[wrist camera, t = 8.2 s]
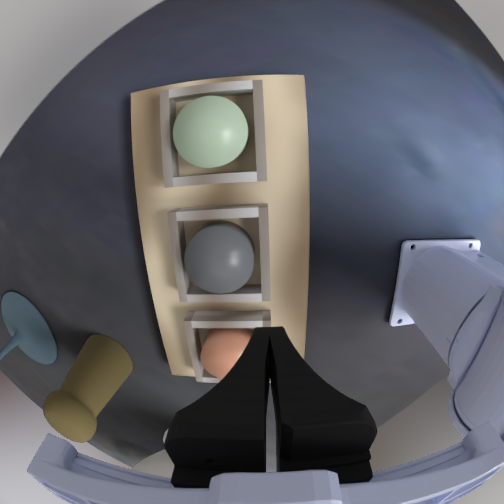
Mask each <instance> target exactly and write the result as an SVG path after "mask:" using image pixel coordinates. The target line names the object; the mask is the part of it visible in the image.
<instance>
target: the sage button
mask: <svg viewBox="0 0 504 504" xmlns="http://www.w3.org/2000/svg"><path fill="white" fill-rule="evenodd" d="M248 138H249V128H248V124H247V121H246V119H245V116H244V114H243V112H242V111H241V109H240V108H239V107H238V106H237V105H236V104H235V103H233V102H232V101H230V100H228V99H226V98H224V97H220V96H204V97H200V98H197V99H195V100H193V101H192V102H190V103H189V104H187V105H186V106H185V107H184V108H183V109H182V110H181V111H180V113H179V114H178V116H177V118H176V120H175V123H174V127H173V140H174V144H175V147H176V149H177V151H178V152H179V154H180V155H181V156H182V157H183V158H184V159H185V160H186V161H187V162H189V163H191V164H192V165H195V166H198V167H202V168H214V167H220V166H224V165H227V164H229V163H231V162H233V161H234V160H236V159H237V158H238V157H239V156H240V155H241V154H242V153H243V151H244V150H245V148H246V145H247V143H248Z"/></svg>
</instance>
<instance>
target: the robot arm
mask: <svg viewBox="0 0 504 504" xmlns="http://www.w3.org/2000/svg"><path fill="white" fill-rule="evenodd" d="M413 244H414V246H413V248H412V249H411V246H412V245H413ZM469 244H470V246H469ZM479 249H480V241H479V240H477V239H449V240H407V241H404V242H403V243H402V246H401V254H400V262H399V269H398V275H397V282H396V288H395V293H394V299H393V304H392V309H391V314H390V319H389V323H390V325H391V326H400V325H407V324H413V323H416V325H417V326H418V327H419V329H420V330H421V331H422V332H423V334H424V335H425V336H426V338H427V339H428V340H429V341H430V343H431V344H432V345H433V347H434V348H435V349H436V351H437V352H438V353H439V355H440V356H441V357H442V359H443V360H444V362H445V363H446V364H447V366H448V367H449V368H450V373H449V376H448V378H447V381H448V382H449V384H450V385H451V387H452V388H453V392H452V393H451V395H450V398H449V402H448V412H449V416H450V419H451V421H452V423H453V425H454V427H455V428H456V429H457V430H458V432H459V433H460V434H461V435H462V436H463V437H464V439H463V441H462V442H460V443H458V444H456V445H453V446H451V447H449V448H447V449H444V450H442V451H439V452H437V453H434V454H431V455H429V456H426V457H423V458H421V459H418V460H415V461H411V462H408V463H405V464H402V465H398V466H395V467H391V468H388V469H384V470H380V471H376V472H372V470H371V466H370V462H369V460H370V459H371V455H370V451H369V449H370V447H371V445H372V443H373V441H374V439H375V437H376V434H377V428H376V424H375V421H374V419H373V417H372V415H371V414H370V412H369V410H368V408H367V407H366V406H365V405H363V404H361V403H359V402H357V401H355V400H353V399H351V398H349V397H347V396H345V395H344V394H342V393H340V392H339V391H337V390H336V389H335V388H333V387H332V386H331V385H329V384H328V383H327V382H325V381H324V380H323V379H322V378H321V377H320V376H319V375H318V374H317V373H315V372H314V371H313V369H312V368H311V367H310V366H309V365H308V364H307V363H306V362H305V360H304V359H303V358H302V357H301V355H300V354H299V353H298V351H297V350H296V348H295V347H294V345H293V344H292V342H291V340H290V339H289V337H288V335H287V333H286V331H285V328H284V327H283V326H278V327H255V328H254V329H253V333H252V335H251V338H250V340H249V342H248V344H247V346H246V347H245V349H244V351H243V353H242V354H241V356H240V357H239V359H238V360H237V362H236V363H235V364H234V366H233V367H232V368H231V370H230V371H229V372H228V373H227V374H226V375H225V377H224V378H223V379H222V380H221V381H220V382H219V383H218V384H217V385H216V386H215V387H213V388H212V389H211V390H210V391H209V392H207V393H206V394H205V395H203V396H202V397H201V398H200V399H198V400H197V401H195V402H194V403H192V404H190V405H189V406H187V407H185V408H183V409H182V410H180V411H178V412H177V413H176V415H175V416H174V418H173V420H172V422H171V424H170V426H169V429H168V432H167V436H166V439H165V443H164V447H165V450H166V452H167V454H168V455H169V457H170V459H171V460H172V462H173V464H174V469H173V473H172V477H171V478H167V477H162V476H157V475H152V474H147V473H143V472H139V471H135V470H131V469H127V468H123V467H120V466H116V465H113V464H109V463H107V462H103V461H100V460H97V459H94V458H92V457H89V456H86V455H83V454H81V453H78V452H77V450H76V449H75V448H74V446H73V445H71V444H70V443H69V442H67V441H66V440H63V439H61V438H59V437H56V436H54V435H52V434H47V436H46V438H45V439H44V441H43V442H42V444H41V446H40V447H39V449H38V451H37V453H36V454H35V456H34V458H33V460H32V461H31V463H30V465H29V467H28V469H27V472H28V473H29V474H31V475H32V476H33V477H34V478H35V479H36V480H37V481H39V482H40V483H41V484H42V485H43V486H45V487H46V488H47V489H48V490H50V491H51V492H52V493H53V494H55V495H56V496H58V497H59V498H61V499H63V500H65V501H67V502H69V503H71V504H450V503H452V502H454V501H455V500H457V499H459V498H461V497H463V496H465V495H466V494H468V493H470V492H472V491H473V490H475V489H477V488H478V487H480V486H482V485H483V484H484V483H485V482H486V481H488V480H489V479H490V478H491V477H492V476H493V475H494V474H495V473H496V472H497V471H499V470H500V469H501V468H502V467H503V466H504V265H502V264H501V263H499V262H497V261H496V260H494V259H492V258H490V257H489V256H487V255H485V254H484V253H482V252H480V251H479ZM399 319H400V321H398V320H399ZM270 382H271V389H272V396H273V403H274V411H275V419H276V457H277V472H267V473H266V414H267V404H268V394H269V384H270Z"/></svg>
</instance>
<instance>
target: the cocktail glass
mask: <svg viewBox="0 0 504 504" xmlns="http://www.w3.org/2000/svg"><path fill="white" fill-rule="evenodd" d="M1 311H2V316H3V319H4V322H5V325H6V327H7V329H8V331H9V333H10V335H11V336H12V338H11V340H10V341H9V342H8V343H7V344H6V346H5V347H4V348H3V349H2V350H1V351H0V360H1V359H2V358H3V357H4V356H5V355H6V354H7V353H8V352H9V351H10V350H11V349H13V348H14V347H15V346H17V345H18V346H19V347H20V349H21V350H22V351H23V352H24V353H26V354H27V355H28V356H29V357H30V358H32V359H33V360H35V361H37V362H39V363H42V364H51V363H53V362H54V361H55V360H56V357H57V345H56V341H55V338H54V335H53V333H52V331H51V329H50V327H49V325H48V323H47V322H46V320H45V319H44V317H43V316H42V314H41V313H40V312H39V310H38V309H37V308H36V307H35V306H34V304H32V303H31V302H30V301H29V300H28V299H27V298H26V297H24V296H23V295H21V294H19V293H17V292H13V291H11V292H7V293H6V294H5V295H4V296H3V298H2V301H1Z"/></svg>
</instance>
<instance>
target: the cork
mask: <svg viewBox="0 0 504 504" xmlns="http://www.w3.org/2000/svg"><path fill="white" fill-rule="evenodd" d="M132 369H133V364H132V360H131V358H130V356H129V354H128V353H127V351H126V350H125V349H124V348H123V347H122V346H121V345H120V344H119V343H117V342H116V341H115V340H113V339H111V338H109V337H107V336H104V335H100V334H98V335H92V336H90V337H88V339H87V340H86V342H85V344H84V345H83V347H82V349H81V351H80V353H79V354H78V356H77V358H76V360H75V362H74V364H73V366H72V367H71V369H70V371H69V373H68V375H67V377H66V379H65V381H64V383H63V385H62V387H61V389H60V390H59V391H54V392H52V393H51V394H50V395H49V396H48V397H47V398H46V400H45V402H44V405H43V412H44V416H45V418H46V419H47V421H48V423H49V424H50V425H51V426H52V427H53V428H54V429H55V430H56V431H57V432H59V433H60V434H61V435H63V436H64V437H66V438H68V439H70V440H72V441H75V442H80V443H84V442H86V441H88V440H90V439H91V438H92V437H93V436H94V434H95V432H96V427H97V420H96V417H97V415H98V414H99V413H100V412H101V410H102V409H103V408H104V407H105V405H106V404H107V403H108V401H109V400H110V399H111V398H112V396H113V395H114V394H115V393H116V391H117V390H118V389H119V388H120V386H121V385H122V384H123V383H124V381H125V380H126V379H127V378H128V376H129V375H130V374H131V373H132Z"/></svg>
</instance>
